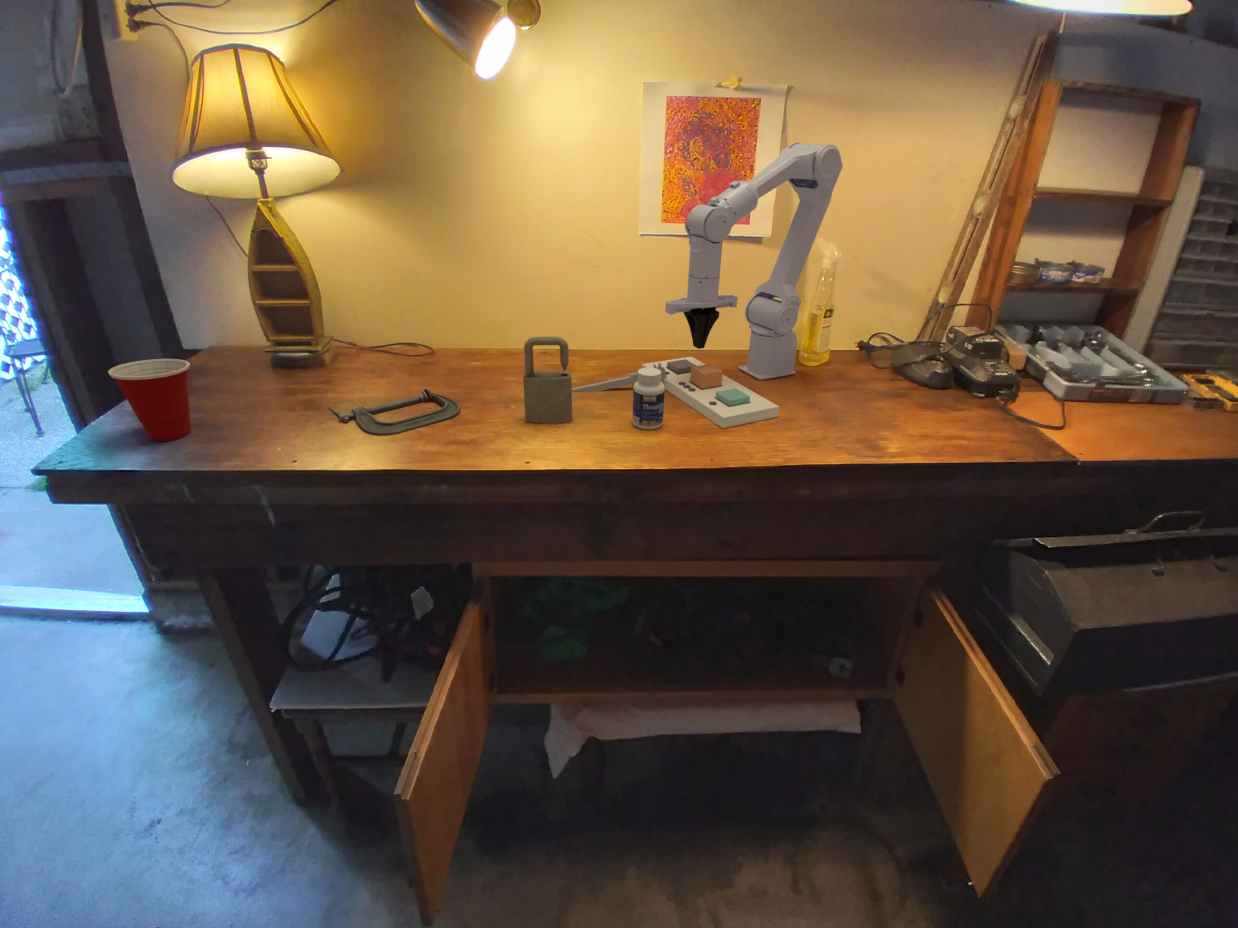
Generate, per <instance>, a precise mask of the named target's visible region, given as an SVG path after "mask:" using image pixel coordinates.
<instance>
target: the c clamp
mask: <svg viewBox="0 0 1238 928" xmlns="http://www.w3.org/2000/svg"><path fill="white" fill-rule="evenodd" d="M419 402H420V403H429V402H435V403H437V404H438V405H439V406H441V408H439V409H435V410H433V411H429V412H425V413H421V414H418V415H415V416H411V417H408V418H403V419H399V420H396V421H392V422H391V421H389V422H387V421H380V420H378V419H377V418H376V417H375V416H374V415H375V414H379V413H384V412H387V411H392V410H396V409H399V408H403V407H408V406H412V405H415V404H418V403H419ZM327 408H328V410H329V411H330V412H332V413H333V414H335V415H336V416H338V419H339V422H340V423H348V422H349V421H352V420H356V423H357V424H358V426H359V427H360V429H362V431H364V433H367V434H368V435H372V436H379V437H380V436H382V437H383V436H393V435H398V434H402V433H406V432H409V431H414V430H417V429H419V428H424V427H428V426H431V425H434V424H437V423H441V422H443V421H444V422H445V421H448V420H451V419H453V418H455V417H457V416H458V415H459V414H460V412H461V406H460V403H458V402H457V401H455V400H454V399H452V398H450V397H448V396H445V395H442V394H438V393H435V392H434V393H433V392H431V391H430V390H429V388H424V389H423V390H421V393H420V394H419V395H416V396H410V397H406V398H403V399H402V398H401V399H398V400H394V401H390V402H389V401H388V402H385V403H381V404H378V405H373V406H370V407H364V406H359V407H355V408H352V409H351V411H350V412H349V411H348V412H345V413H341V412H340V411H338V410H337V409H335V407H334V406H331V405H329V406H328V407H327Z"/></svg>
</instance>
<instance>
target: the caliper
mask: <svg viewBox="0 0 1238 928" xmlns="http://www.w3.org/2000/svg"><path fill="white" fill-rule="evenodd" d="M658 362H659V361H658ZM652 363H653V362H652ZM653 365H654V368H656V369H659V370H660V371H661V382H662V383H663V384H664V378H667V376H666V372H665V368H664V367H661V363H660V362H659V364H658V368H657V366H656V365H655V364H654V363H653ZM637 381H639V380H638V371H637V372H631V373H629V375H628V376H623V377H618V378H613V379H609V380H605V381H600V382H595V383H591V384H586V385H583V386H577V387H572V393H579V392H580V393H584V392H585V393H587V392H602V391H606V390H611V389H615V388H620V387H625V386H630V385H631V386H632V388H634V384H635V383H636V382H637Z"/></svg>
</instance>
